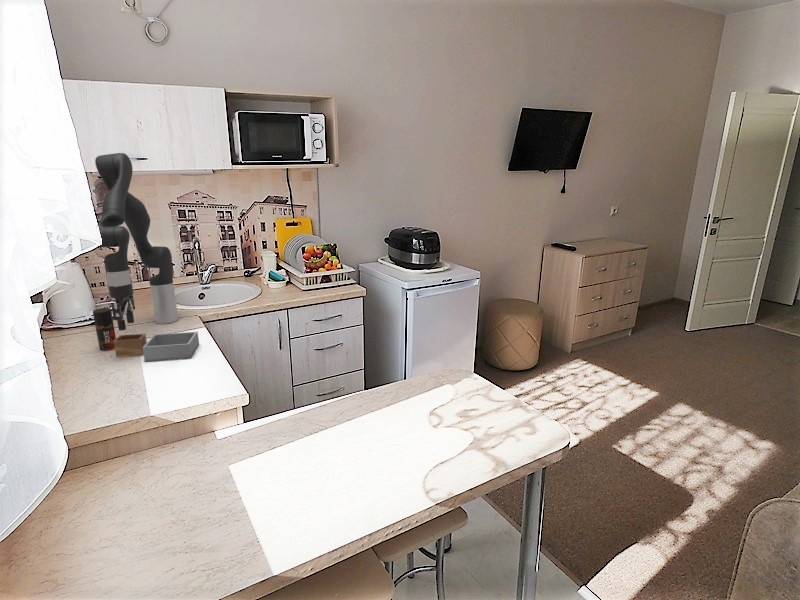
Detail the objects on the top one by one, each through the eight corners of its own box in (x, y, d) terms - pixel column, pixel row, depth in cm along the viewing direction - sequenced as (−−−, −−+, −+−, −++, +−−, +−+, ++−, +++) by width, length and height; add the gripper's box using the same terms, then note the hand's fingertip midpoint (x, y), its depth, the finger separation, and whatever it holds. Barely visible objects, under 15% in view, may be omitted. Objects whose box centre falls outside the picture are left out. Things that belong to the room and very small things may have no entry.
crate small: (122, 351, 187) (119, 335, 185) (148, 350, 189) (145, 333, 187) (116, 357, 182) (113, 340, 180) (142, 355, 183) (140, 339, 181)
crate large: (156, 348, 190) (154, 334, 188) (199, 345, 192) (197, 331, 191) (144, 361, 177) (142, 347, 175) (191, 358, 179) (189, 344, 178)
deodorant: (104, 351, 187) (96, 313, 183) (97, 348, 190) (89, 310, 186) (120, 347, 191) (113, 309, 187) (113, 344, 195) (106, 307, 191)
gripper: (116, 279, 184) (123, 321, 188) (100, 288, 170) (108, 333, 175) (137, 278, 185) (144, 320, 189) (123, 287, 172) (131, 331, 176)
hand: (126, 326), depth 182 cm, fingers open, 8 cm apart
